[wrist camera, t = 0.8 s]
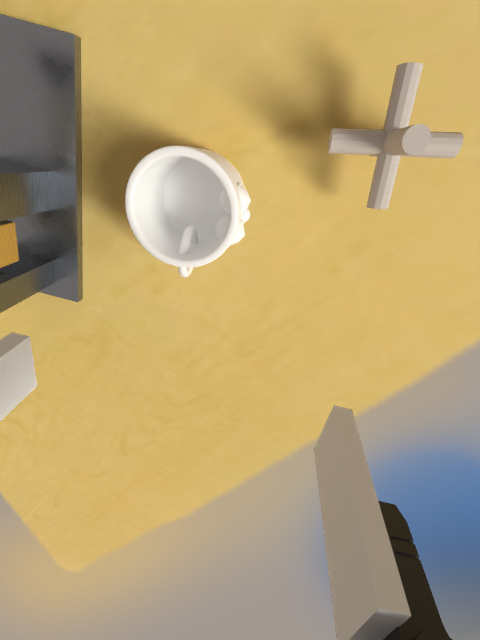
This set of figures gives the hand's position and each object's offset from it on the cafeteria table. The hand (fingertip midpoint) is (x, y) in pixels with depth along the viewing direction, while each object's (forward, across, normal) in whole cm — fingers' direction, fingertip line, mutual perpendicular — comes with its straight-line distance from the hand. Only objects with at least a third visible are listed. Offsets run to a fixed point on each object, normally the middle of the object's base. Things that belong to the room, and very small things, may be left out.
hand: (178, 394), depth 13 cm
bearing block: (+25, -25, +2) cm, 35 cm away
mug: (+26, -5, +3) cm, 26 cm away
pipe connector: (+26, +11, +12) cm, 30 cm away
